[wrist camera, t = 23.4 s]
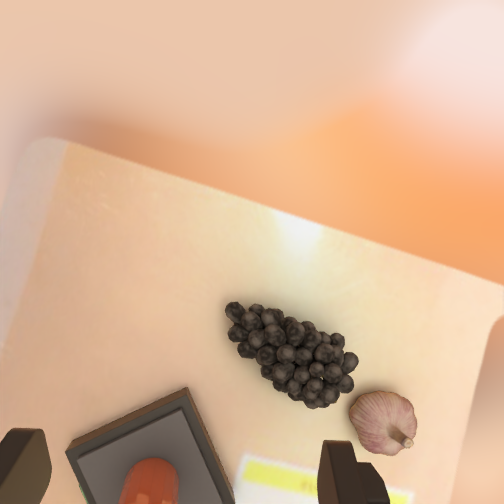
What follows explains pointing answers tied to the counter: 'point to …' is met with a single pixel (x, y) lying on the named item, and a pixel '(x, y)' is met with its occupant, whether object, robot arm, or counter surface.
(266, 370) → the fruit
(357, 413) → the garlic bulb
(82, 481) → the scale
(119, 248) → the counter surface
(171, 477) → the terracotta cup
